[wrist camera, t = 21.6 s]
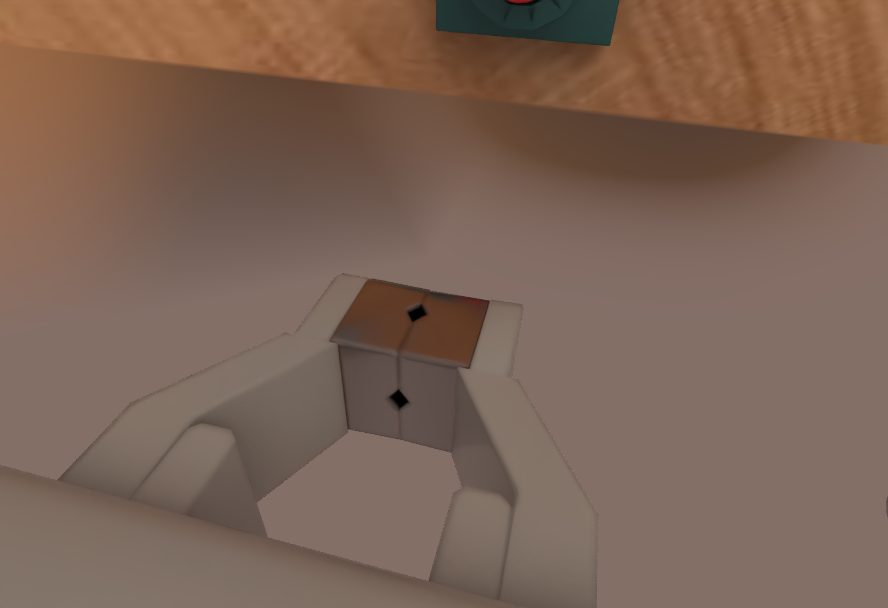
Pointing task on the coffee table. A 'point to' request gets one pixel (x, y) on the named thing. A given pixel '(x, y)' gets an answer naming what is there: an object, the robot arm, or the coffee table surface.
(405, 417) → the robot arm
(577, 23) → the box
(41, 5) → the coffee table surface
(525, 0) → the button
